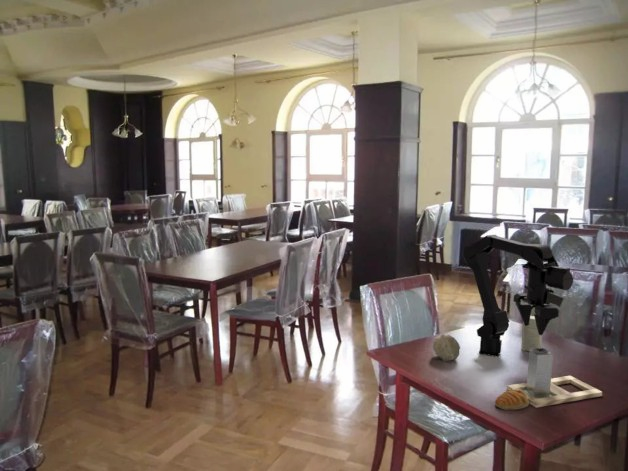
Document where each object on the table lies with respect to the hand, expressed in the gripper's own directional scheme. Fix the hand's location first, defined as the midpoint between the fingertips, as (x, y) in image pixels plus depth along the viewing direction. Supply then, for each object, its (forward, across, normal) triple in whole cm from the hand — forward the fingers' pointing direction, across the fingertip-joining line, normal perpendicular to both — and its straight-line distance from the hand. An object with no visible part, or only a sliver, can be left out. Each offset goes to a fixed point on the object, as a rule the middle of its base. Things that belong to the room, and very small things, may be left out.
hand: (533, 330), depth 169 cm
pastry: (+14, -25, +18) cm, 33 cm away
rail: (+13, -18, +2) cm, 22 cm away
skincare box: (+13, +16, -8) cm, 22 cm away
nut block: (+13, -19, +8) cm, 24 cm away
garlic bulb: (+13, +10, +26) cm, 30 cm away
